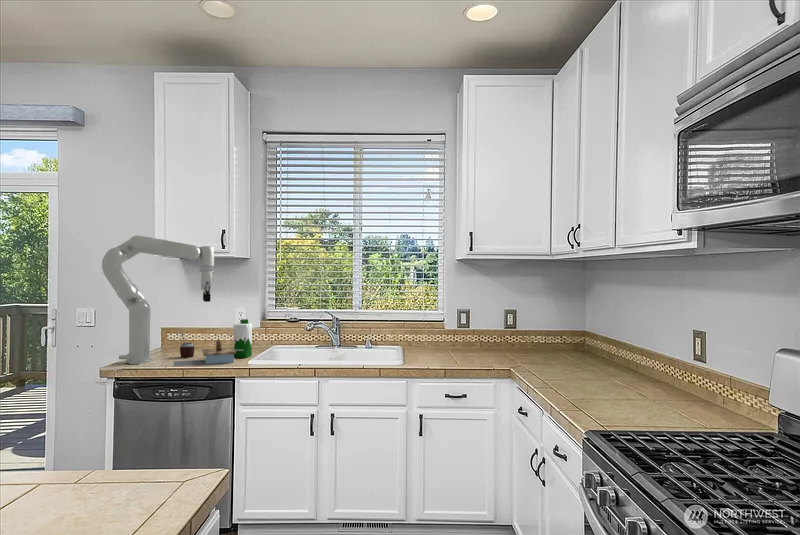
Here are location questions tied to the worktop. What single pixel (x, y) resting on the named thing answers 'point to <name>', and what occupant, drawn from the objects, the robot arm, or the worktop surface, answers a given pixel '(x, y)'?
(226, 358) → the dish
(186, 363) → the mat
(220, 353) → the lid
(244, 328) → the milk carton
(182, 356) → the mate gourd
